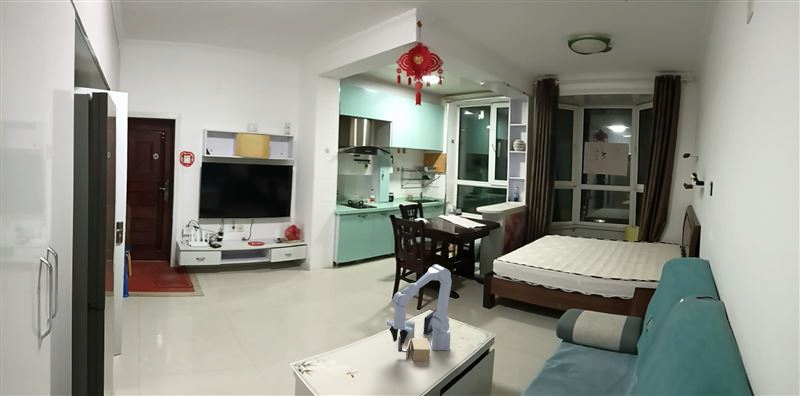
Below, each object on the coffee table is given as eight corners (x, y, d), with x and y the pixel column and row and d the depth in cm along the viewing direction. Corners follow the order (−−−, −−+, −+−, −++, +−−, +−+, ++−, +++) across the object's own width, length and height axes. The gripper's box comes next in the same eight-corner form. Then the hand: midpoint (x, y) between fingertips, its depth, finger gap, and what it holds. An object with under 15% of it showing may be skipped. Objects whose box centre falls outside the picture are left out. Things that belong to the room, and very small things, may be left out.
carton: (426, 349, 209) (426, 338, 208) (429, 360, 197) (429, 349, 196) (411, 348, 208) (411, 338, 208) (413, 360, 196) (413, 349, 196)
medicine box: (414, 335, 224) (415, 321, 223) (413, 339, 219) (414, 324, 218) (400, 334, 225) (401, 319, 224) (399, 338, 220) (400, 323, 219)
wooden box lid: (410, 348, 208) (411, 330, 207) (407, 359, 196) (408, 340, 195) (400, 347, 209) (401, 329, 208) (396, 358, 197) (397, 339, 196)
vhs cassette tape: (427, 335, 226) (428, 318, 224) (422, 333, 227) (423, 316, 226) (441, 324, 241) (442, 308, 240) (437, 323, 242) (438, 307, 241)
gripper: (383, 314, 200) (382, 340, 201) (407, 323, 191) (405, 350, 193) (392, 310, 205) (391, 336, 207) (415, 318, 197) (414, 344, 198)
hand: (398, 342), depth 200 cm, fingers open, 4 cm apart
